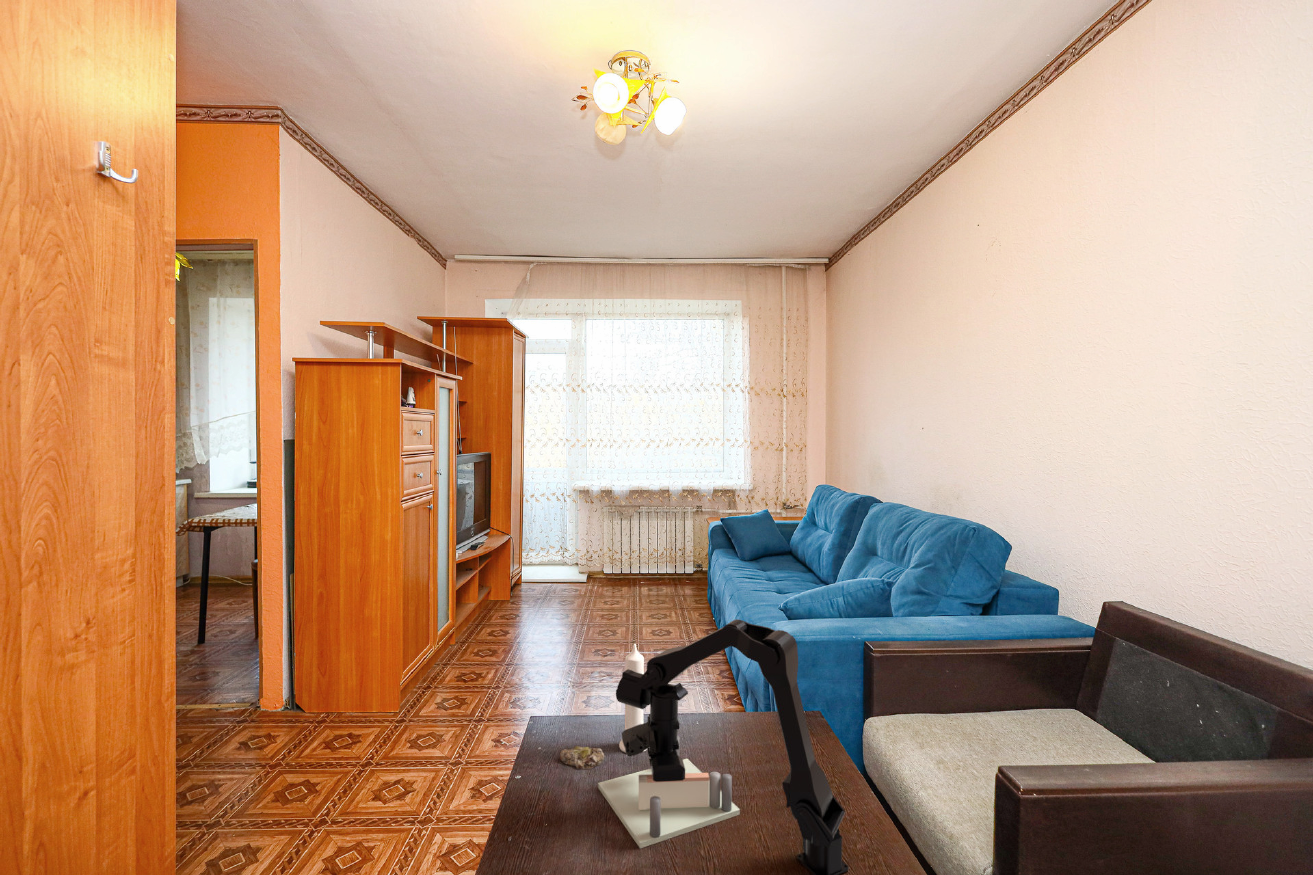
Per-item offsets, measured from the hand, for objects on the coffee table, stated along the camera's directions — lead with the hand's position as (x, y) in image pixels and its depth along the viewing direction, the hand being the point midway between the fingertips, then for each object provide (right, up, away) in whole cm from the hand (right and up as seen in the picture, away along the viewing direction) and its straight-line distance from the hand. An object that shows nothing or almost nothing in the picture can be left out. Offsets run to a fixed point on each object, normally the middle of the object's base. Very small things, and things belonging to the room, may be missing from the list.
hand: (662, 789), depth 122 cm
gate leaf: (+3, -1, -3) cm, 5 cm away
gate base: (+1, -3, +1) cm, 3 cm away
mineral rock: (-19, -3, +16) cm, 25 cm away
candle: (-7, -3, +22) cm, 23 cm away
